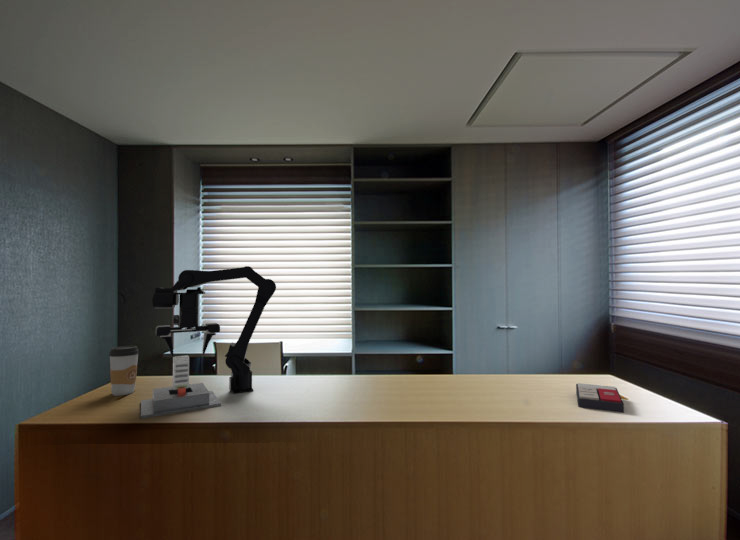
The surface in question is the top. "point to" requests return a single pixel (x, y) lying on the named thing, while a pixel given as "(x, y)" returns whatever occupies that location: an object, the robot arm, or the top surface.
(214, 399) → the stand base
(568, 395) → the top surface
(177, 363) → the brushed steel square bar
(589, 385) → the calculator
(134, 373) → the coffee cup
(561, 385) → the top surface
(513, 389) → the top surface
